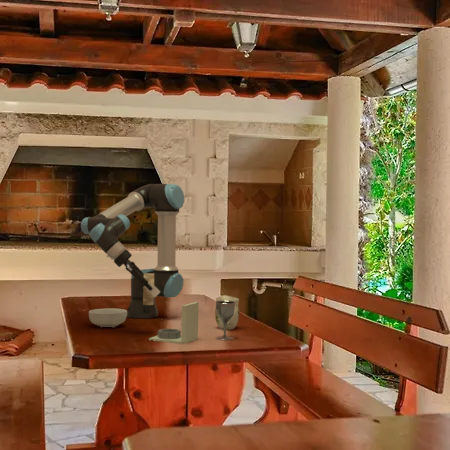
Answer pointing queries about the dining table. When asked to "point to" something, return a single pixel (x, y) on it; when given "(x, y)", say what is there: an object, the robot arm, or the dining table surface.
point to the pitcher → (235, 318)
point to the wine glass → (225, 315)
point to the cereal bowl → (107, 317)
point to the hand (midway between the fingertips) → (157, 294)
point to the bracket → (188, 327)
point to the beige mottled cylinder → (147, 296)
